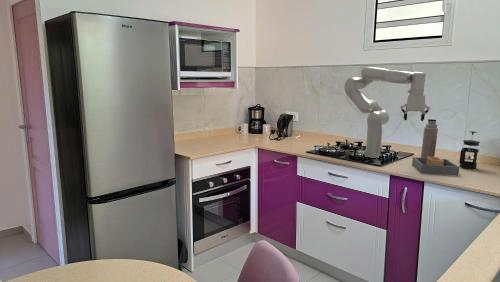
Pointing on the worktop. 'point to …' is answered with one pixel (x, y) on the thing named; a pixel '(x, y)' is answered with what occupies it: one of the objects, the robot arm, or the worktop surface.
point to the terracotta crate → (434, 161)
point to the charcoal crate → (435, 167)
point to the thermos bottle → (429, 139)
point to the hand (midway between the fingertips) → (413, 120)
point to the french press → (462, 161)
